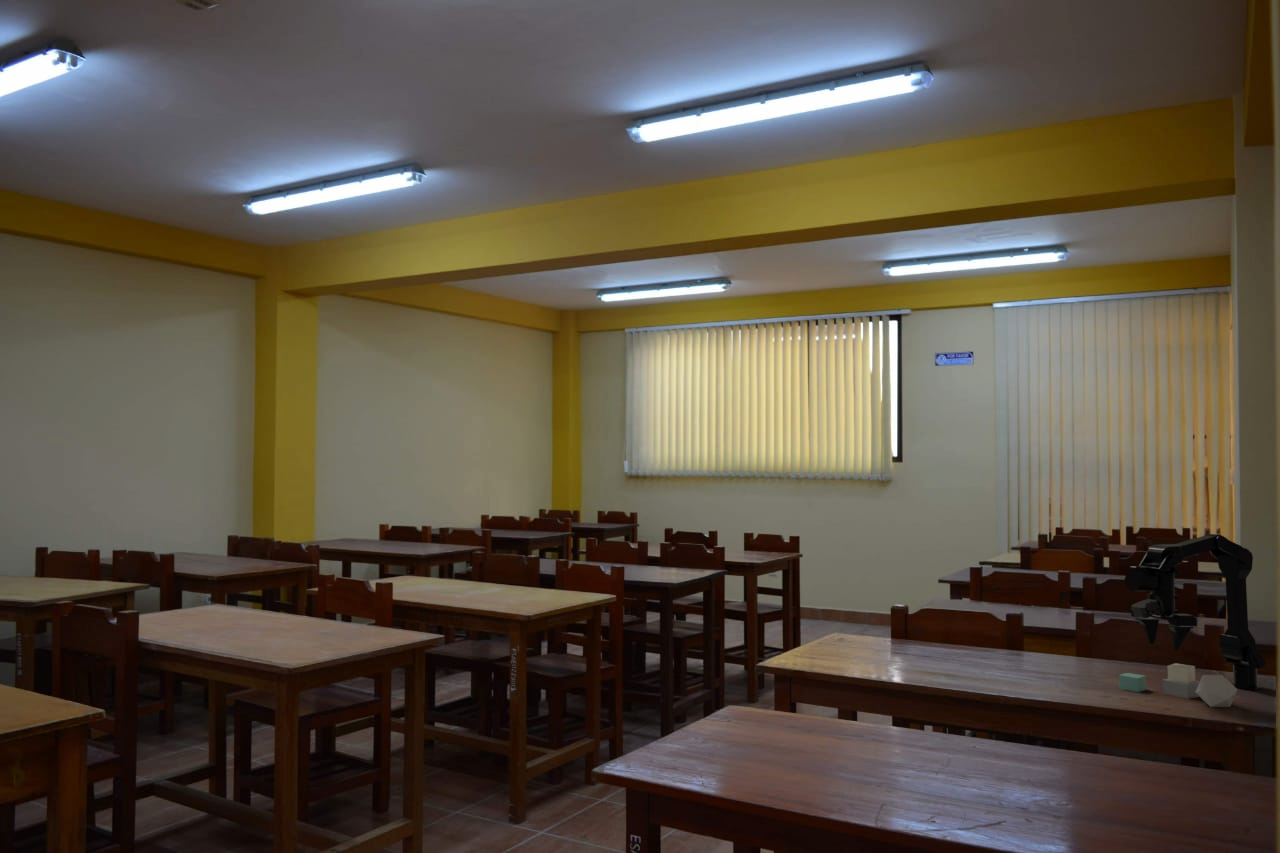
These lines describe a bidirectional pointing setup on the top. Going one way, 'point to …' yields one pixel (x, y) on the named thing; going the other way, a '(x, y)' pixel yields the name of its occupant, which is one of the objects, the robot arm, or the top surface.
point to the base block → (1180, 688)
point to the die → (1216, 690)
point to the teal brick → (1132, 682)
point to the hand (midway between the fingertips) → (1163, 647)
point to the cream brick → (1181, 673)
